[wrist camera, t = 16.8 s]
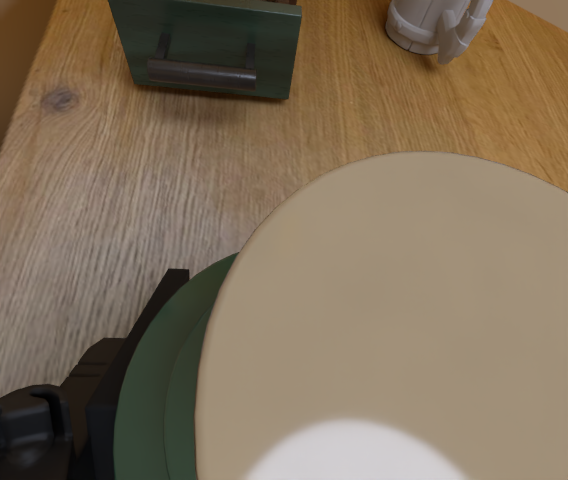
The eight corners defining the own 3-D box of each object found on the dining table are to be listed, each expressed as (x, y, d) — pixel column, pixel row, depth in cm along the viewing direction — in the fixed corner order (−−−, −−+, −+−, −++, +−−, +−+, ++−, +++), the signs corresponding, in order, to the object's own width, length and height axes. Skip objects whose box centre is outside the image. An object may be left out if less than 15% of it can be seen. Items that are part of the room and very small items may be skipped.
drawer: (288, 137, 27) (303, 56, 21) (123, 122, 25) (86, 31, 19) (287, 1, 35) (298, -85, 29) (163, -16, 34) (146, -110, 28)
